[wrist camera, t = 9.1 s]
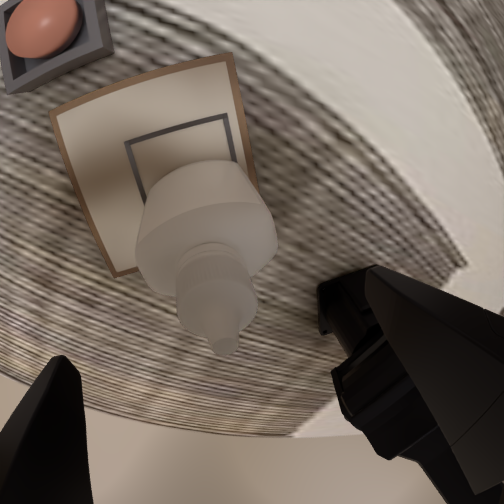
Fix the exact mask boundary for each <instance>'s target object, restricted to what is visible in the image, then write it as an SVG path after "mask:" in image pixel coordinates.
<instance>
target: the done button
mask: <svg viewBox="0 0 504 504" xmlns="http://www.w3.org/2000/svg"><path fill="white" fill-rule="evenodd" d="M82 20H83V12H82V8H81V6H80V4H79V3H78V2H77V1H76V0H23V1H22V2H21V3H20V4H19V5H18V6H17V7H16V9H15V10H14V12H13V13H12V15H11V17H10V19H9V21H8V24H7V28H6V43H7V46H8V48H9V50H10V51H11V52H12V53H13V54H14V55H16V56H19V57H25V58H34V59H47V58H51V57H53V56H56V55H58V54H59V53H61V52H62V51H64V50H65V49H66V48H67V47H68V46H69V45H70V44H71V43H72V42H73V41H74V39H75V38H76V36H77V34H78V33H79V30H80V28H81V25H82Z"/></svg>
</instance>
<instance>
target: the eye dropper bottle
mask: <svg viewBox="0 0 504 504" xmlns="http://www.w3.org/2000/svg"><path fill="white" fill-rule="evenodd" d="M277 249H278V239H277V234H276V229H275V225H274V221H273V218H272V215H271V212H270V211H269V209H268V207H267V206H266V204H265V203H264V201H263V199H262V198H261V196H260V195H259V193H258V192H257V190H256V189H255V187H254V186H253V184H252V183H251V181H250V180H249V179H248V177H247V176H246V174H245V173H244V171H243V170H242V168H241V167H240V166H239V164H237V163H235V162H233V161H228V160H205V161H199V162H194V163H191V164H187V165H185V166H182V167H180V168H178V169H176V170H174V171H172V172H170V173H169V174H167V175H166V176H164V177H163V178H162V179H160V180H159V181H158V182H157V183H156V184H155V185H154V186H153V187H152V188H151V189H150V191H149V193H148V196H147V199H146V203H145V207H144V211H143V215H142V219H141V223H140V227H139V231H138V236H137V241H136V247H135V259H136V263H137V266H138V268H139V270H140V272H141V274H142V276H143V278H144V280H145V282H146V283H147V285H148V286H149V287H150V288H151V289H152V290H153V291H154V292H156V293H159V294H161V295H166V296H173V297H176V307H177V316H178V318H179V320H180V323H181V324H182V325H183V326H184V328H186V329H187V330H188V331H189V332H191V333H193V334H195V335H197V336H200V337H204V338H208V341H209V343H210V345H211V348H212V350H213V352H214V353H216V354H218V355H230V354H232V353H234V352H235V351H236V350H237V349H238V347H239V332H240V331H242V330H243V329H244V328H246V327H247V326H248V325H249V324H250V323H251V322H252V320H253V319H254V317H255V316H256V315H255V314H256V313H257V310H258V309H257V308H258V299H257V295H256V292H255V289H254V287H253V284H252V281H251V277H252V276H254V275H255V274H256V273H257V272H259V271H260V270H261V269H262V268H263V267H265V266H266V265H267V264H268V263H269V262H270V261H271V260H272V259H273V257H274V256H275V254H276V253H277Z"/></svg>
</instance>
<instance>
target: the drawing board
mask: <svg viewBox="0 0 504 504" xmlns="http://www.w3.org/2000/svg"><path fill="white" fill-rule="evenodd" d="M49 116H50V119H51V123H52V126H53V129H54V133H55V136H56V139H57V142H58V146H59V149H60V152H61V155H62V158H63V161H64V163H65V166H66V169H67V172H68V175H69V177H70V180H71V183H72V185H73V188H74V191H75V193H76V196H77V198H78V201H79V203H80V206H81V208H82V210H83V213H84V215H85V218H86V220H87V222H88V225H89V227H90V229H91V231H92V234H93V236H94V238H95V240H96V242H97V245H98V247H99V249H100V251H101V253H102V255H103V257H104V259H105V261H106V263H107V265H108V267H109V269H110V271H111V273H112V275H113V277H114V278H117V277H120V276H123V275H127V274H130V273H134V272H137V271H140V270H139V268H138V266H137V263H136V259H135V247H136V241H137V236H138V231H139V227H140V223H141V219H142V215H143V211H144V207H145V203H146V199H147V196H148V193H149V191H150V189H151V188H152V187H153V186H154V185H155V184H156V183H157V182H158V181H159V180H160V179H162V178H163V177H164V176H166V175H167V174H169V173H170V172H172V171H174V170H176V169H178V168H180V167H182V166H185V165H187V164H191V163H194V162H199V161H205V160H228V161H233V162H235V163H237V164H239V166H240V167H241V168H242V170H243V171H244V173H245V174H246V176H247V177H248V179H249V180H250V181H251V183H252V184H253V186H254V187H255V189H256V190H257V192H258V193H259V188H258V183H257V177H256V172H255V167H254V161H253V156H252V151H251V145H250V140H249V135H248V130H247V124H246V119H245V114H244V109H243V104H242V99H241V94H240V89H239V84H238V79H237V74H236V69H235V64H234V59H233V54H232V52H230V53H224V54H219V55H214V56H209V57H204V58H199V59H195V60H190V61H186V62H182V63H178V64H174V65H170V66H167V67H163V68H160V69H156V70H153V71H149V72H146V73H143V74H140V75H137V76H134V77H131V78H128V79H125V80H122V81H119V82H116V83H113V84H111V85H108V86H105V87H103V88H100V89H98V90H95V91H93V92H90V93H88V94H86V95H83V96H81V97H79V98H76V99H74V100H72V101H70V102H67V103H65V104H63V105H61V106H59V107H57V108H55V109H53V110H51V111H49ZM259 195H260V194H259Z"/></svg>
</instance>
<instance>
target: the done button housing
mask: <svg viewBox="0 0 504 504" xmlns="http://www.w3.org/2000/svg"><path fill="white" fill-rule="evenodd" d="M22 1H23V0H8V1H7V2H5V3H4V4H2V5H1V6H0V60H1V66H2V72H3V77H4V82H5V87H6V92H7V95H10V94H16V93H24V92H30V91H32V90H34V89H35V88H37V87H39V86H41V85H43V84H45V83H47V82H49V81H51V80H53V79H55V78H57V77H59V76H61V75H63V74H65V73H67V72H69V71H72V70H74V69H76V68H78V67H81V66H83V65H85V64H88V63H90V62H92V61H95V60H97V59H100V58H103V57H105V56H108V55H111V54H113V53H114V49H113V44H112V39H111V34H110V29H109V24H108V19H107V13H106V8H105V2H104V0H76V1H77V2H78V3H79V4H80V6H81V8H82V12H83V20H82V25H81V28H80V30H79V33H78V34H77V36H76V38H75V39H74V41H73V42H72V43H71V44H70V45H69V46H68V47H67V48H66V49H65V50H64V51H62V52H61V53H59V54H58V55H56V56H53V57H51V58H47V59H34V58H25V57H19V56H16V55H14V54H13V53H12V52H11V51H10V50H9V48H8V46H7V43H6V28H7V24H8V21H9V19H10V17H11V15H12V13H13V12H14V10H15V9H16V7H17V6H18V5H19V4H20V3H21V2H22Z"/></svg>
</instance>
